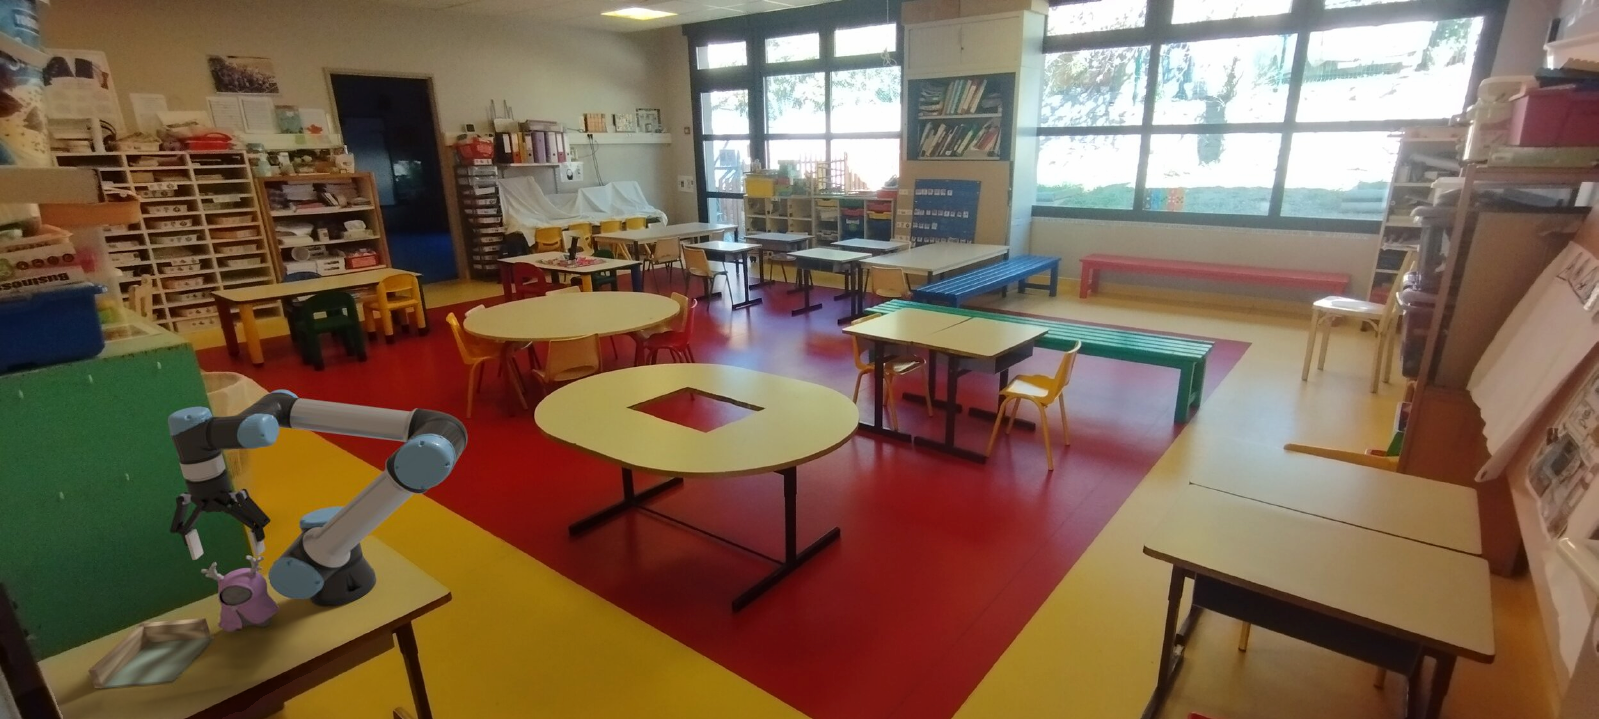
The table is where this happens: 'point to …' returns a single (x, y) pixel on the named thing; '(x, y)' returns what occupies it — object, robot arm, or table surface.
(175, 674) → the tray
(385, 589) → the table surface
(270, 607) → the toy character
